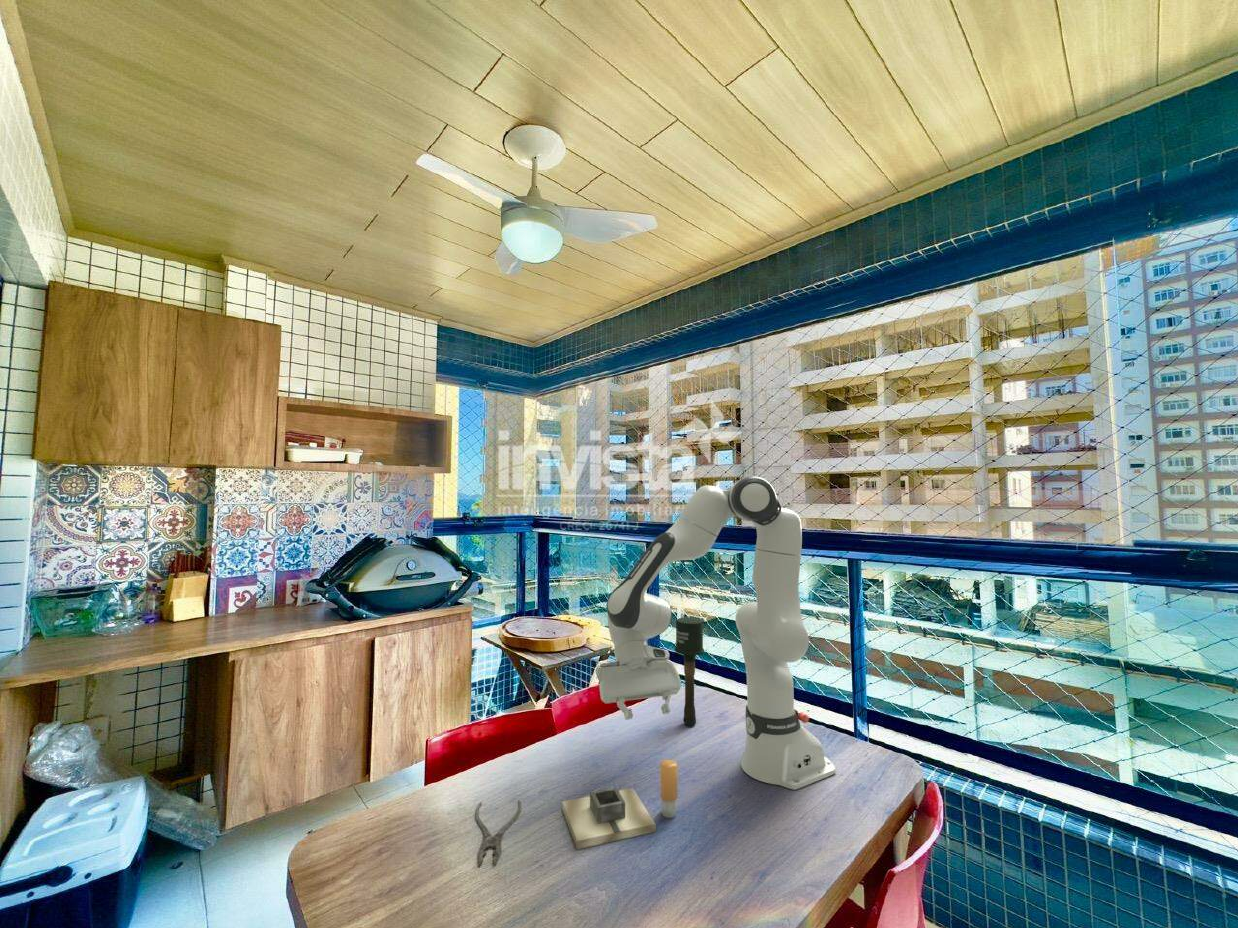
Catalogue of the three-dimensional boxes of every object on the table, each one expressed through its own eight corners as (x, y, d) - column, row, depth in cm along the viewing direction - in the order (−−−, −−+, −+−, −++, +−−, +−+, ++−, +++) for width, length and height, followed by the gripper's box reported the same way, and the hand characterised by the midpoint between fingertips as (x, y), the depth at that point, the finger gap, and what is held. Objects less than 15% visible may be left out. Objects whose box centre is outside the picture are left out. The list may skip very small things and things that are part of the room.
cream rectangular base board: (632, 794, 113) (632, 773, 113) (655, 831, 101) (655, 807, 101) (562, 808, 108) (562, 786, 108) (577, 849, 96) (577, 824, 96)
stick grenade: (673, 717, 152) (673, 616, 154) (702, 718, 152) (702, 616, 154) (676, 730, 144) (675, 623, 146) (706, 731, 144) (706, 623, 145)
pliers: (519, 794, 112) (532, 855, 93) (519, 798, 112) (532, 859, 93) (474, 802, 109) (477, 866, 90) (474, 806, 109) (477, 871, 90)
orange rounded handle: (673, 806, 109) (673, 758, 109) (680, 816, 105) (680, 766, 106) (657, 809, 108) (657, 761, 108) (664, 820, 104) (664, 769, 105)
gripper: (597, 657, 123) (608, 715, 113) (673, 649, 130) (691, 704, 120) (591, 670, 127) (602, 727, 117) (666, 662, 134) (683, 715, 124)
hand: (648, 715), depth 118 cm, fingers open, 8 cm apart
